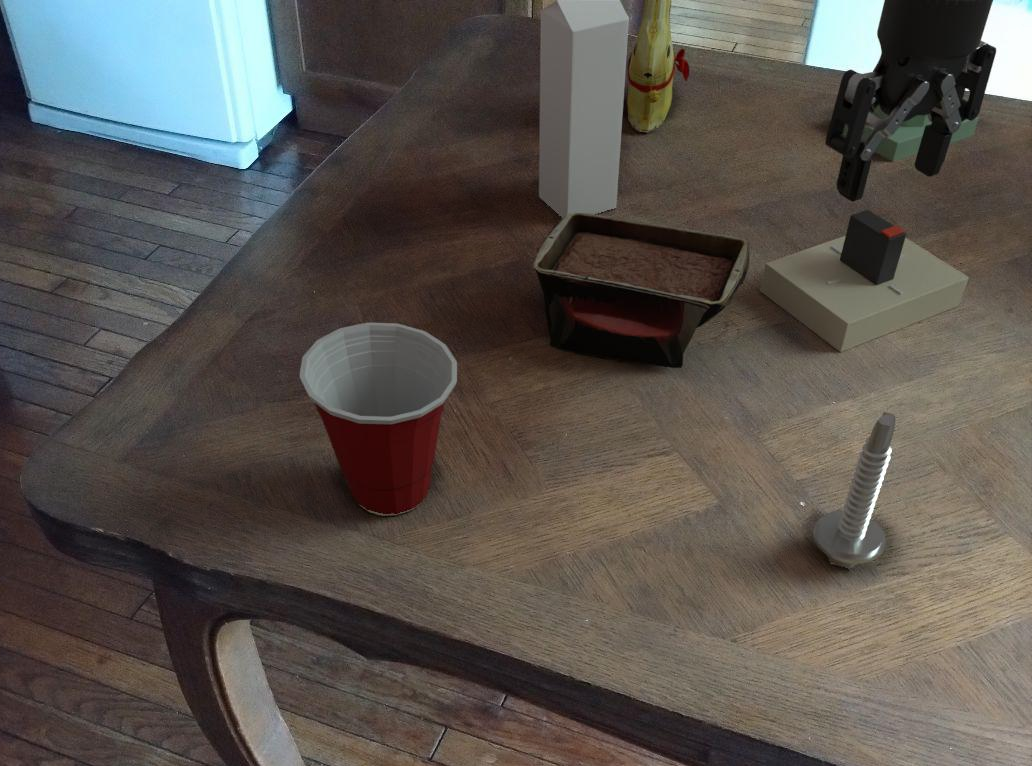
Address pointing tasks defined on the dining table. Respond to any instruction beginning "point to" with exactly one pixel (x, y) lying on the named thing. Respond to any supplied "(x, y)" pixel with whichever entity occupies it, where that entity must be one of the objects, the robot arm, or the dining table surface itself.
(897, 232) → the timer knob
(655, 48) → the chocolate bunny
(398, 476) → the plastic cup
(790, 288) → the panel
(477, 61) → the dining table surface
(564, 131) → the milk
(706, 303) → the baking dish
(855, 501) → the screw
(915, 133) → the button block
